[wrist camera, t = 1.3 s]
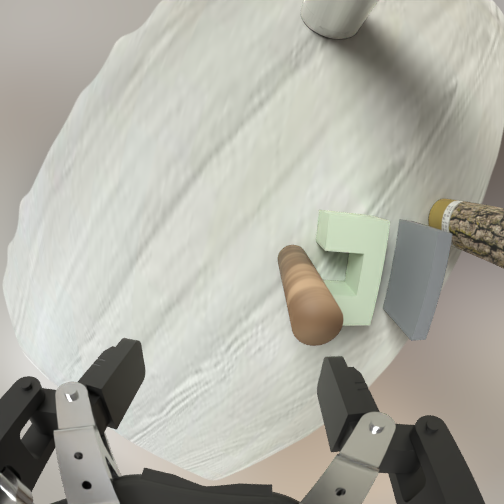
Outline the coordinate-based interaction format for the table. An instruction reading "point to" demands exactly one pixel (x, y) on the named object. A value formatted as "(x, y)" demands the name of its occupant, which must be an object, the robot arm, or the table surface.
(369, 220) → the cradle
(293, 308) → the brown banded cylinder
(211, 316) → the table surface
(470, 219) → the brown bark cylinder
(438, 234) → the wall
